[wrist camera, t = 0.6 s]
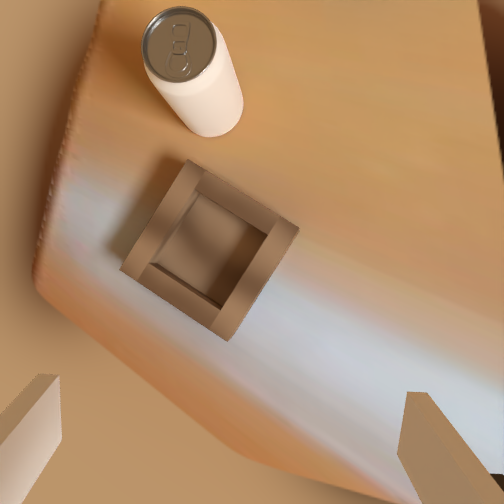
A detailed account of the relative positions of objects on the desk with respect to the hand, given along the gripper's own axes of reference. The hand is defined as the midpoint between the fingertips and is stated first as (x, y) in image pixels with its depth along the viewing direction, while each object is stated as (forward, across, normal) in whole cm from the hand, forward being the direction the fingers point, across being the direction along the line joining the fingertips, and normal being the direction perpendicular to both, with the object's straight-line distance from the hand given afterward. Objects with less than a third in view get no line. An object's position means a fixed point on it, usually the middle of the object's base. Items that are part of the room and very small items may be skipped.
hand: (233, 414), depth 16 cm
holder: (+27, -2, 0) cm, 27 cm away
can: (+31, -4, +14) cm, 34 cm away
